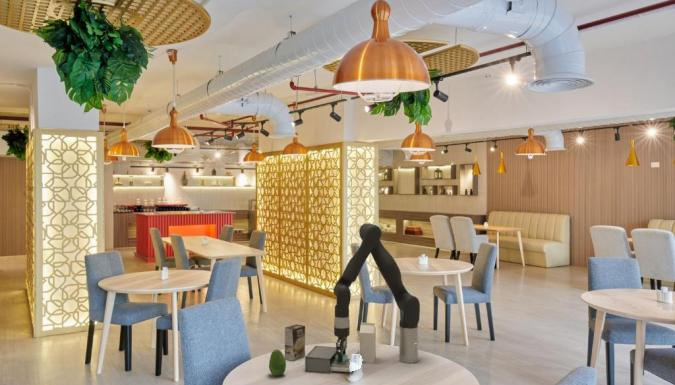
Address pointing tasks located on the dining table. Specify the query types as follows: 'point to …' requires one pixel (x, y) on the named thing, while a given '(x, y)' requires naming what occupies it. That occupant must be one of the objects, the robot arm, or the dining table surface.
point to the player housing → (320, 359)
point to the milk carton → (368, 342)
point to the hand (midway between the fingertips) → (341, 359)
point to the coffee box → (294, 342)
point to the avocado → (277, 363)
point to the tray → (341, 365)
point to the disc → (345, 358)
